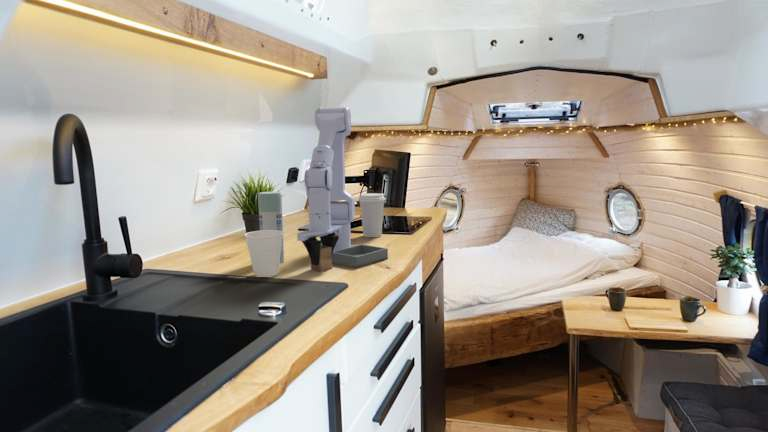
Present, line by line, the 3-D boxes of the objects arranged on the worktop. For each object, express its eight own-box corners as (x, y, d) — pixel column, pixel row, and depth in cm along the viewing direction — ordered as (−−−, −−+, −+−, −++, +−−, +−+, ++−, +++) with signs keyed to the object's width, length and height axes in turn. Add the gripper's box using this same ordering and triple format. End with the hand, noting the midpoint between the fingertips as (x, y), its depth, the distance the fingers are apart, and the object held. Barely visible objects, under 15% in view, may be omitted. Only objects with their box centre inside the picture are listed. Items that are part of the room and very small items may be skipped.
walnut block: (311, 269, 138) (310, 247, 137) (321, 266, 141) (321, 244, 140) (321, 271, 135) (320, 249, 134) (332, 268, 138) (331, 246, 137)
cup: (292, 271, 136) (290, 230, 134) (272, 281, 126) (270, 238, 125) (260, 269, 139) (258, 229, 137) (238, 278, 130) (236, 236, 128)
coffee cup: (356, 238, 179) (355, 195, 177) (362, 233, 188) (361, 192, 186) (383, 238, 178) (382, 195, 175) (387, 233, 187) (387, 192, 185)
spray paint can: (282, 264, 143) (279, 193, 140) (259, 265, 143) (255, 194, 140) (285, 259, 150) (282, 191, 147) (263, 259, 150) (260, 191, 146)
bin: (330, 262, 145) (330, 252, 144) (361, 253, 155) (361, 244, 154) (357, 267, 138) (356, 257, 138) (387, 258, 148) (387, 248, 148)
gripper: (309, 217, 128) (311, 270, 130) (349, 211, 139) (350, 259, 141) (291, 215, 132) (293, 266, 134) (331, 209, 143) (332, 256, 145)
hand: (321, 262), depth 138 cm, fingers closed on walnut block, 4 cm apart
